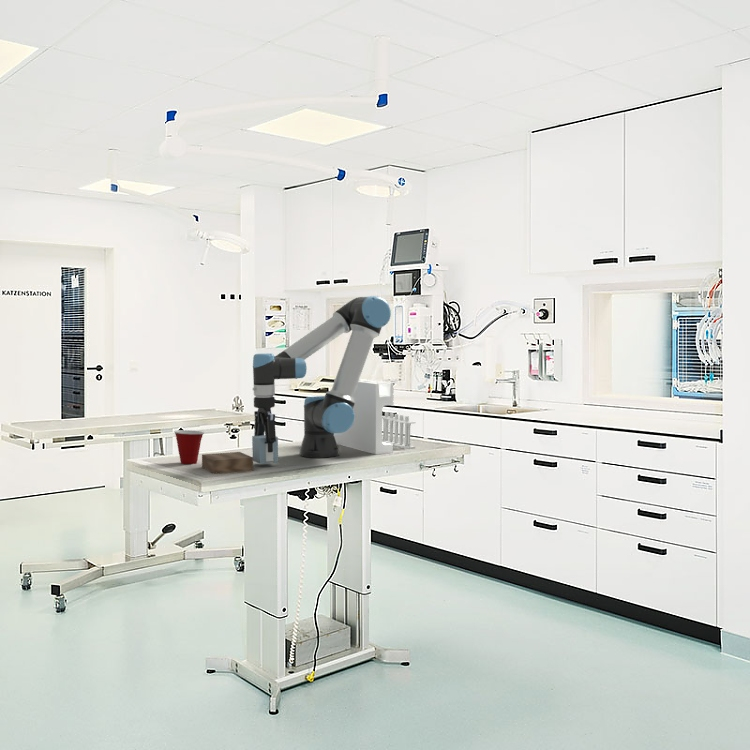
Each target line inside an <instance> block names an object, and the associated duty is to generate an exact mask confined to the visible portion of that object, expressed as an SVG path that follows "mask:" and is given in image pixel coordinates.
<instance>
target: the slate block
mask: <svg viewBox="0 0 750 750" xmlns="http://www.w3.org/2000/svg"><path fill="white" fill-rule="evenodd" d="M251 438H252V439H251V441H252V442H251V443H252V457H253V462H255V463H258V464H269V463H278V462H279V437H278V436H276V442H274V443H273V461H268V462H266V454H265V442H266V436H265V434H264V435H260V436H254V435H252V437H251Z"/></svg>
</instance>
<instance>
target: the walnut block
mask: <svg viewBox="0 0 750 750" xmlns="http://www.w3.org/2000/svg"><path fill="white" fill-rule="evenodd" d="M201 468H202V469H204V470H206V471H208V472H209V473H212V474H213V475H215V474H216V475H218V474H226V473H240V472H251V471H254V461H253V456H250V455H248V454H245V453H243V452H241V451H233V452H232V451H231V452H220V453H219V452H218V453H205V454H201Z"/></svg>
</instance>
